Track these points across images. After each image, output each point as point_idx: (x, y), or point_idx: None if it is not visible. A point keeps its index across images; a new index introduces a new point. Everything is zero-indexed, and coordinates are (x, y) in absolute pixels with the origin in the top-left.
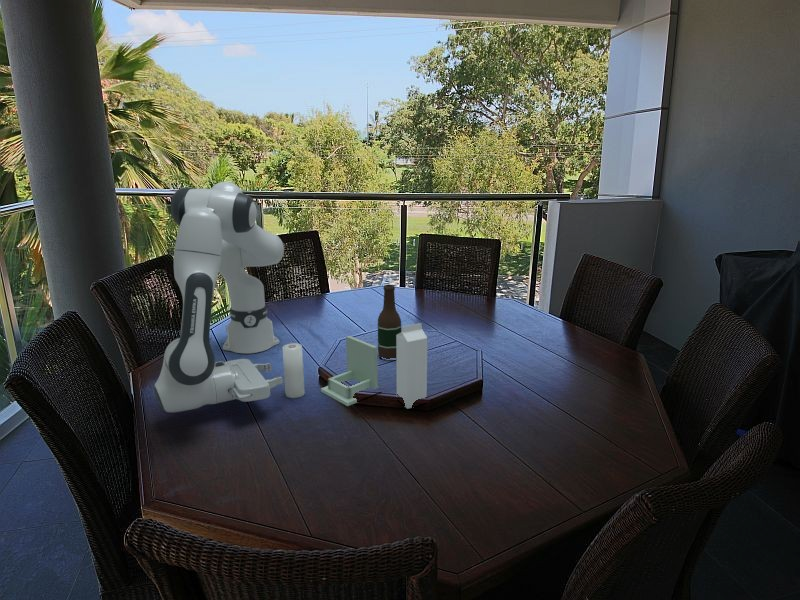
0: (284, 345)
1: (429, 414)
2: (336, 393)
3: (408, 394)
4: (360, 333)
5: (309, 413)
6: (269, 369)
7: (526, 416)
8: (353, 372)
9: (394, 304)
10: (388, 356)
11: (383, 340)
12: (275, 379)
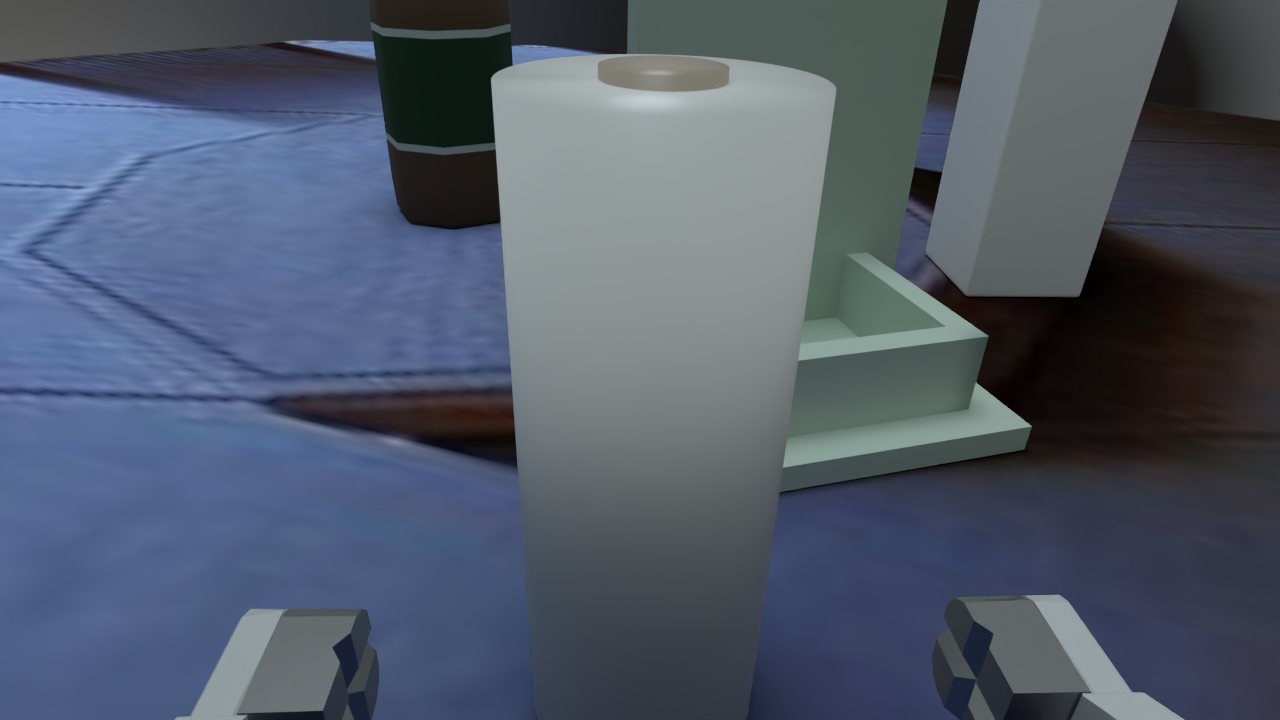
0: (524, 96)
1: (1138, 272)
2: (850, 431)
3: (1102, 218)
4: (73, 199)
5: (1160, 697)
6: (365, 700)
7: (1142, 170)
8: None
9: None
10: None
11: (469, 110)
12: (1164, 712)
